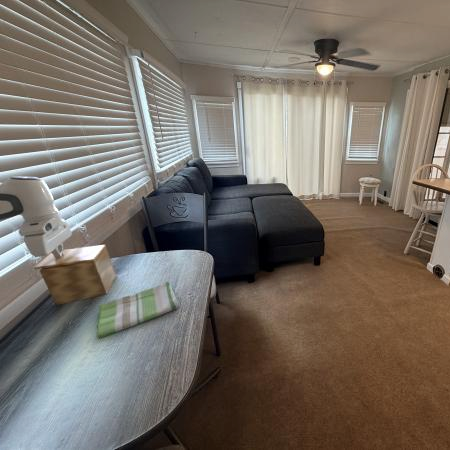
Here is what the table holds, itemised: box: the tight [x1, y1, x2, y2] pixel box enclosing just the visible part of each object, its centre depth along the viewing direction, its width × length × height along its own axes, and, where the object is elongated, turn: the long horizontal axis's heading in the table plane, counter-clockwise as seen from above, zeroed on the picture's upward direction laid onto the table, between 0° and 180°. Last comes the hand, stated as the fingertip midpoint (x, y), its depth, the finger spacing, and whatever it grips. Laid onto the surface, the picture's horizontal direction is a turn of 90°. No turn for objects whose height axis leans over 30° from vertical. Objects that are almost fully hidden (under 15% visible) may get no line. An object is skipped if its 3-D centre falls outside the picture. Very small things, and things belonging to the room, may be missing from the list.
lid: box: [33, 244, 106, 270], centre depth 91 cm, size 17×14×1 cm
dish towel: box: [96, 280, 180, 339], centre depth 84 cm, size 17×23×4 cm
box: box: [39, 246, 117, 306], centre depth 94 cm, size 16×14×15 cm
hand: (60, 256), depth 90 cm, fingers closed
